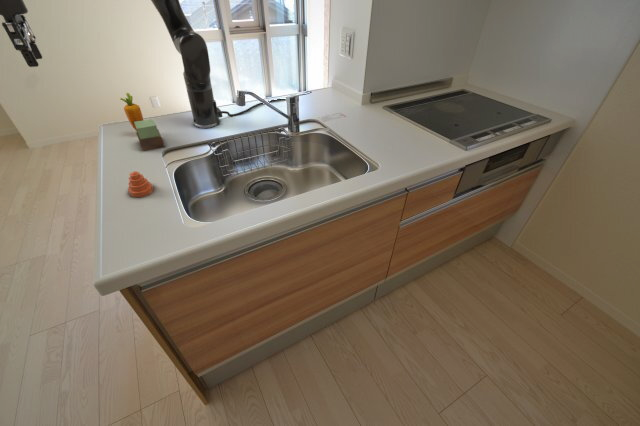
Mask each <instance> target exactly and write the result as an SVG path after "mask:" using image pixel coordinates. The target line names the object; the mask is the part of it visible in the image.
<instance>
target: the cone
mask: <svg viewBox="0 0 640 426" xmlns="http://www.w3.org/2000/svg"><path fill="white" fill-rule="evenodd" d="M127 185H128V188H127V190H128V193H129V195H130V196H131V197H133V198H144V197H146V196H149V195H150V194H151V193H152V192H153V191H154V188H153V187H154V186H153V185H152V183H151V181H148V179H147V177H144V175H143V174H142V173H140V172H139V171H136V170H135V171H131V172H130V173H129V177H128V184H127Z"/></svg>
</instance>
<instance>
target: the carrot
mask: <svg viewBox="0 0 640 426" xmlns="http://www.w3.org/2000/svg"><path fill="white" fill-rule="evenodd" d="M125 94H126V97H125V98H123V97H120V98H119V100H121V101H122V102H125V105H124V107H123V110H124V113H125V116H126V118H127V119H128V122H129V123H130V125H131V127H132V128H133V129H134V131H135V132H137V129H136V126H135V123H134V122H136V121H143V120H144V117H143V113H142V110H141V107H140V105H138V104H137V103H133V95H131V94H130V93H129V92H126V93H125Z"/></svg>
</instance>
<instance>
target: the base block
mask: <svg viewBox="0 0 640 426" xmlns="http://www.w3.org/2000/svg"><path fill="white" fill-rule="evenodd" d="M157 130H158V133H159V136H158V137H153V138H147V139H141V140H140V137H139V134H138V132H137V131H135V133H136V135H137V139H138V142H139V146H140V147H141V151H142V152H146V151H151V150H156V149H162V148H165V144H164V141H163V138H162V135H161V132H160V131H159V128H157Z"/></svg>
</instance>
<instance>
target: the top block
mask: <svg viewBox="0 0 640 426" xmlns="http://www.w3.org/2000/svg"><path fill="white" fill-rule="evenodd" d="M134 123H135V126H136V129H137V131H136V132H138V134H139V137H140V140H141V139H147V138H153V137H158V136H159V133H160V132H159V133H158V130H159V129H158V127H157V125H156V122H155V120H154V118H149V119H143V121H136V122H134ZM157 129H158V130H157Z"/></svg>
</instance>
